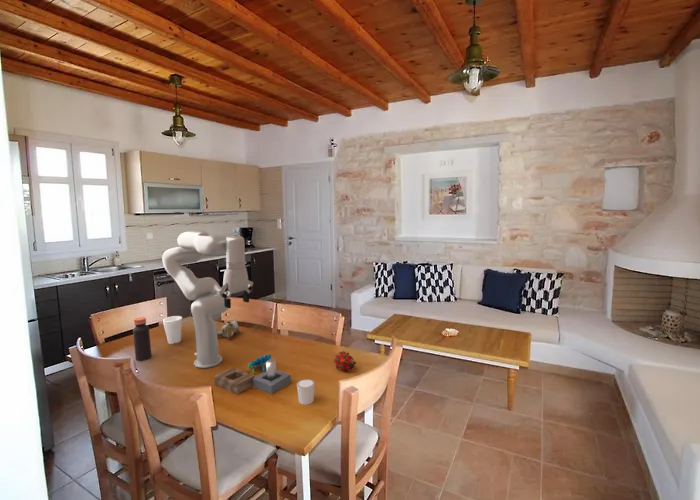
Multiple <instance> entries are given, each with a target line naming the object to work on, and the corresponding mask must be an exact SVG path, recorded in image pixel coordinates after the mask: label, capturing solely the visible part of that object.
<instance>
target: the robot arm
mask: <svg viewBox="0 0 700 500" xmlns="http://www.w3.org/2000/svg"><path fill="white" fill-rule="evenodd" d="M176 242H177V244H178V247H171V248H169V249H167V250H165V251H164V252H163V253H162V255H161V259H162V260H161V261H162V264H163V265H162V266H163V268H164V269H165V271H166V272H167V274H169V275H170V277H171V278H172V279H173V280H174V281H175V282H176V284H177V285H178V287H179V289H180V290H181V292H182V293H183V295H184V296H185V298H186V299H187V300H189V301H192V303H191V305H190V311H191V315H192V318H193V324H194V333H195V345H196V352H194V356H196V359H195V360H194V361H193V365H194V367H196V368H198V369H209V368H214V367H216V366H218V365H220V364H221V363H222V362H223V357H222V356H221V355H220V353H219V341H218V338H219V337H217V332H218V325H217V323H216V321H214V320H213V318H212V317H215V316H217V315H220V314H223V313H225V312H227V311H228V310H229V309H231V308H232V307H231V306H232V303H231V302H232V300H231V296H232V294H238V293H241V292H242V301H243V302H244V303H249V302H250V293H251V290H252V289H253V285H254V282H253V281H251V280H249V275H248V270H247V267H246V265H247V261H246V250H245V249H246V248H245V238H244V237H243V236H241V235H233V234H231V233H223V234H222V233H221V234H215V235H210V234H209V233H208V232H207V231H205V230H192V231H191V230H190V231H185V232H182V233H180V234H179V235H178V237H177V240H176ZM219 253H225V262H226V265H225V266H226V269H224V273H223V281H222V286H220V284H219V283H218V281H216V279H214V278H213V277H209V276H208V277H207V276H206V277H201V278H199V277H197V276H196V275H195V274H194V272H193V271H192V270H191V269H190V268H188V267H186V266H184V265H186V264H192V263H193V264H194V263H196V262H199V261H200V260H201V259H202V258H203V257H204V255H207V254H208V255H213V254H219Z"/></svg>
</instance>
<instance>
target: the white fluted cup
mask: <svg viewBox="0 0 700 500" xmlns="http://www.w3.org/2000/svg"><path fill="white" fill-rule="evenodd" d="M315 384H316V383H315V380H313V379H308V378H307V379H301V380H299V381H297V382H296V388H297V395H298V396H297V397H298V403H299V404H300V405H303V406H304V405H305V406H306V405H311V404H312V403H313V402H314V400H315V388H316V387H315Z"/></svg>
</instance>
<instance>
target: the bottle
mask: <svg viewBox="0 0 700 500" xmlns="http://www.w3.org/2000/svg"><path fill="white" fill-rule="evenodd" d="M133 321H134V325H135V327H134V328H133V329H132V333H133V334H132V335H133V343H134V353H135V354H134V355H135V360H136V361H138V362H139V361H141V362H142V361H146V360H149V359H150V358H151V357H152V347H151V346H152V345H151V336H150V335H151V334H150V327H149V326H148V325H147V318H146V317H144V316H143V317H142V316H141V317H135V318H134V319H133Z"/></svg>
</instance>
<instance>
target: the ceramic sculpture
mask: <svg viewBox="0 0 700 500" xmlns="http://www.w3.org/2000/svg"><path fill="white" fill-rule="evenodd" d="M239 330H240V326H239V324H238V321H237V320H236V319H234V320H232V321H227V322H226V323H225V324H224V325H222V326H221V328H220V330H217V338H221V337H222V336H223V338H227V339H231V338H233V337H234V335H235V334H237V333H238V332H239Z"/></svg>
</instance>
